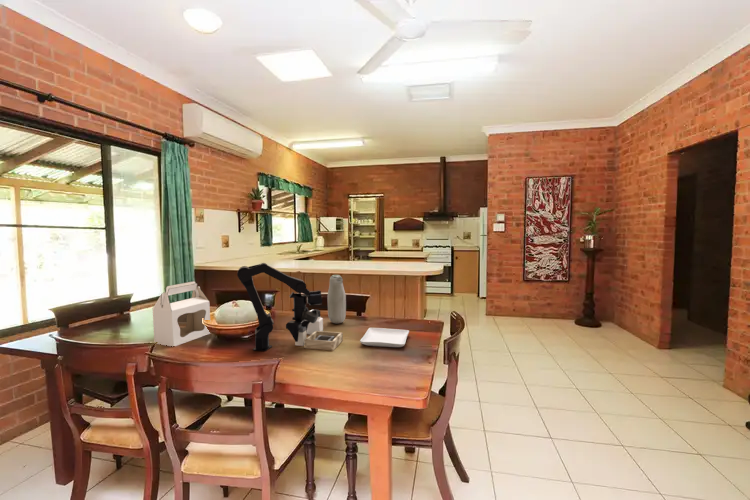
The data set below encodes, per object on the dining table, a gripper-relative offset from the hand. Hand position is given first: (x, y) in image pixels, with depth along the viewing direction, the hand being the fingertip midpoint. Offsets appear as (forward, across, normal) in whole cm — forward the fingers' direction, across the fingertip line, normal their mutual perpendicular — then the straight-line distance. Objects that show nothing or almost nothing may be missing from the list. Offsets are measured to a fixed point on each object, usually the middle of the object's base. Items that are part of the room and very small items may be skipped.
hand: (300, 338), depth 166 cm
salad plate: (+3, +12, -39) cm, 41 cm away
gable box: (+3, -3, +62) cm, 62 cm away
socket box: (+3, +2, -11) cm, 12 cm away
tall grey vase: (+3, +37, -6) cm, 38 cm away
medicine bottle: (+3, +18, 0) cm, 18 cm away
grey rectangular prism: (+3, 0, 0) cm, 3 cm away
